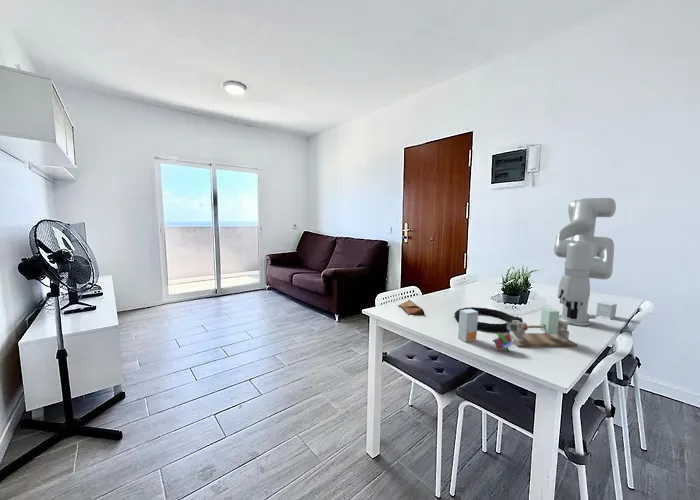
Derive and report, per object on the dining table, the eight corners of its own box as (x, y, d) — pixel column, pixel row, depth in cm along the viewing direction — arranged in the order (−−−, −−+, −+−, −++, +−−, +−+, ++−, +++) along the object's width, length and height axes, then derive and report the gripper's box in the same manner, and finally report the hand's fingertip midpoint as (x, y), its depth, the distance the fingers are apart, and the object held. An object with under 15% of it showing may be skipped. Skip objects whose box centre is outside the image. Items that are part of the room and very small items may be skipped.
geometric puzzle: (497, 350, 106) (510, 331, 106) (484, 342, 112) (496, 325, 113) (510, 359, 107) (522, 342, 108) (496, 351, 114) (508, 334, 114)
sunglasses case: (395, 305, 164) (402, 295, 164) (405, 311, 166) (411, 300, 166) (408, 316, 147) (415, 304, 147) (419, 322, 149) (426, 311, 149)
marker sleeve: (549, 329, 121) (551, 308, 120) (557, 333, 117) (559, 311, 116) (539, 329, 121) (541, 308, 120) (547, 334, 117) (549, 311, 116)
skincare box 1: (465, 342, 117) (467, 313, 115) (457, 338, 120) (459, 310, 119) (476, 340, 119) (478, 311, 118) (468, 336, 123) (470, 308, 122)
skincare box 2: (595, 315, 152) (596, 302, 151) (600, 314, 155) (602, 300, 154) (610, 319, 147) (612, 305, 146) (615, 317, 150) (617, 303, 149)
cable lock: (450, 304, 157) (512, 308, 151) (450, 311, 157) (511, 315, 151) (459, 322, 130) (534, 328, 124) (458, 330, 130) (533, 337, 124)
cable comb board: (556, 335, 125) (558, 317, 124) (577, 346, 114) (579, 326, 114) (500, 335, 124) (501, 317, 123) (516, 347, 113) (517, 327, 112)
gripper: (586, 271, 121) (581, 314, 123) (551, 271, 120) (547, 314, 122) (602, 275, 114) (597, 321, 116) (565, 274, 113) (561, 321, 115)
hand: (571, 317), depth 119 cm, fingers closed
